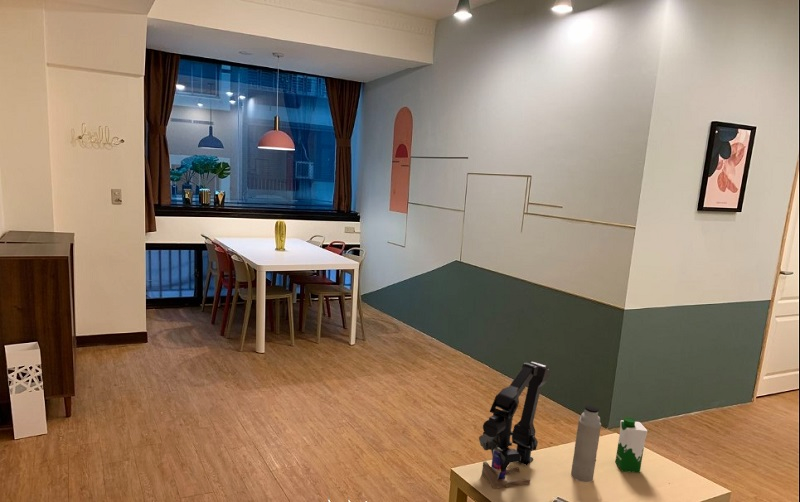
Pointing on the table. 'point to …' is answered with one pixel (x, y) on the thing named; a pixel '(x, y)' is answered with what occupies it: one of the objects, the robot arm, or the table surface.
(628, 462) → the milk carton
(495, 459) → the energy drink
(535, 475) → the table surface
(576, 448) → the thermos bottle
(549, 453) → the table surface
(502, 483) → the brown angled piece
